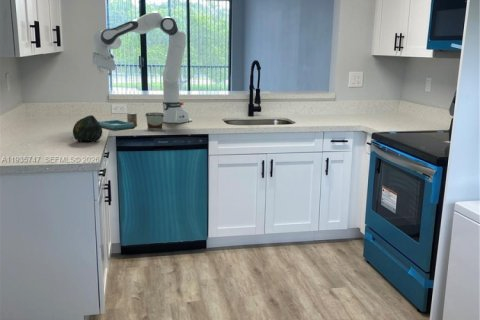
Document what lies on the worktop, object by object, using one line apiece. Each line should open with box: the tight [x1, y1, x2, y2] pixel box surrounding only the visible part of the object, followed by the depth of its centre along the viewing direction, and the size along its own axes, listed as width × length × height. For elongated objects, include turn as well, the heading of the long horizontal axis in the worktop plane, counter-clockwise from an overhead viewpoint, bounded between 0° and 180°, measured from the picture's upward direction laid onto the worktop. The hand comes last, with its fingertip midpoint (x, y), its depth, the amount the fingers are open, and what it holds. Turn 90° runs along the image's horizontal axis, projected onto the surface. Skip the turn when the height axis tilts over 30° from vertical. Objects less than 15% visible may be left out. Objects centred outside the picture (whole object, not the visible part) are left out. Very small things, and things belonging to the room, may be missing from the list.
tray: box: [98, 119, 135, 131], centre depth 300 cm, size 14×20×3 cm
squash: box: [72, 115, 103, 142], centre depth 250 cm, size 14×15×15 cm
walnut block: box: [126, 112, 138, 127], centre depth 308 cm, size 4×4×8 cm
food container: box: [145, 111, 164, 130], centre depth 299 cm, size 12×6×10 cm, turn 84°
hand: (105, 74), depth 313 cm, fingers open, 8 cm apart
